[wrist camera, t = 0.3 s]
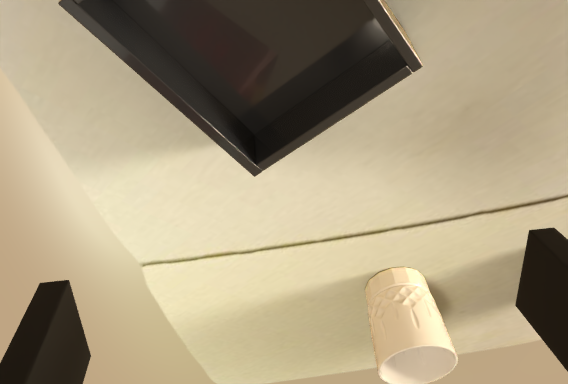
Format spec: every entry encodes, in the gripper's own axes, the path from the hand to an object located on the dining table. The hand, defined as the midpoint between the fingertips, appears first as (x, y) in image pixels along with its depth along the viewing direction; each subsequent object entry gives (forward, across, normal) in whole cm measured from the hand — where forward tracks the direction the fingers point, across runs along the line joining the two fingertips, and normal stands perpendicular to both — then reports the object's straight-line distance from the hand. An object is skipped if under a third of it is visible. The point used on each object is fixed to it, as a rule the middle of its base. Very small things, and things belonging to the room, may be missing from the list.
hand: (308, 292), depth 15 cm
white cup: (+35, +14, -27) cm, 46 cm away
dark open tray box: (+26, 0, +5) cm, 27 cm away
